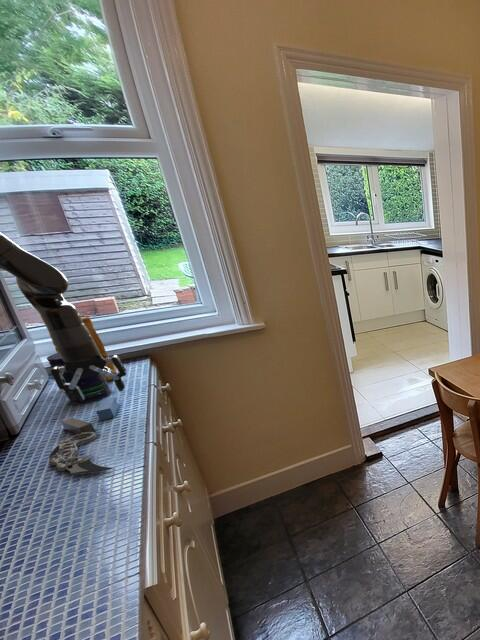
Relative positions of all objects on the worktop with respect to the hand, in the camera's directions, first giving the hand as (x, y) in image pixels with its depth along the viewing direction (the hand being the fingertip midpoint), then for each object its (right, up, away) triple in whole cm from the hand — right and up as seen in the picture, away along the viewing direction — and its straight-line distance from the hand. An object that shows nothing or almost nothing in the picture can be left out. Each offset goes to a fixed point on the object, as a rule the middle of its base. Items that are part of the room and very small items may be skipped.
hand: (102, 395), depth 119 cm
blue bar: (0, -5, +2) cm, 6 cm away
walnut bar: (+1, -9, -7) cm, 12 cm away
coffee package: (-28, +4, +26) cm, 38 cm away
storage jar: (-16, -1, +13) cm, 21 cm away
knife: (+15, -15, -20) cm, 29 cm away
